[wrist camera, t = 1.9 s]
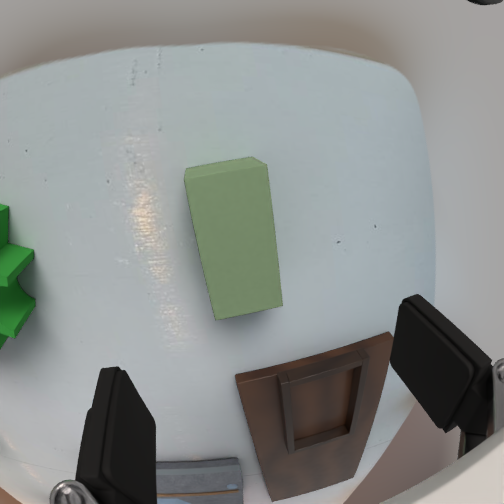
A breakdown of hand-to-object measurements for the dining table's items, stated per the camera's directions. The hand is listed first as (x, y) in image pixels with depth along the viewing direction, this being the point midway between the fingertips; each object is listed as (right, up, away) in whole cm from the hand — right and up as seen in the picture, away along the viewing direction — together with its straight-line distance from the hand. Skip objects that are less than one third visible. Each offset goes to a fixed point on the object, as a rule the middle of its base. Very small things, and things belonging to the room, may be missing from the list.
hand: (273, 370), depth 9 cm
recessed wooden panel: (+8, -23, +26) cm, 36 cm away
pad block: (-2, +5, +12) cm, 13 cm away
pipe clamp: (-20, +2, +10) cm, 22 cm away
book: (-13, -30, +25) cm, 41 cm away
